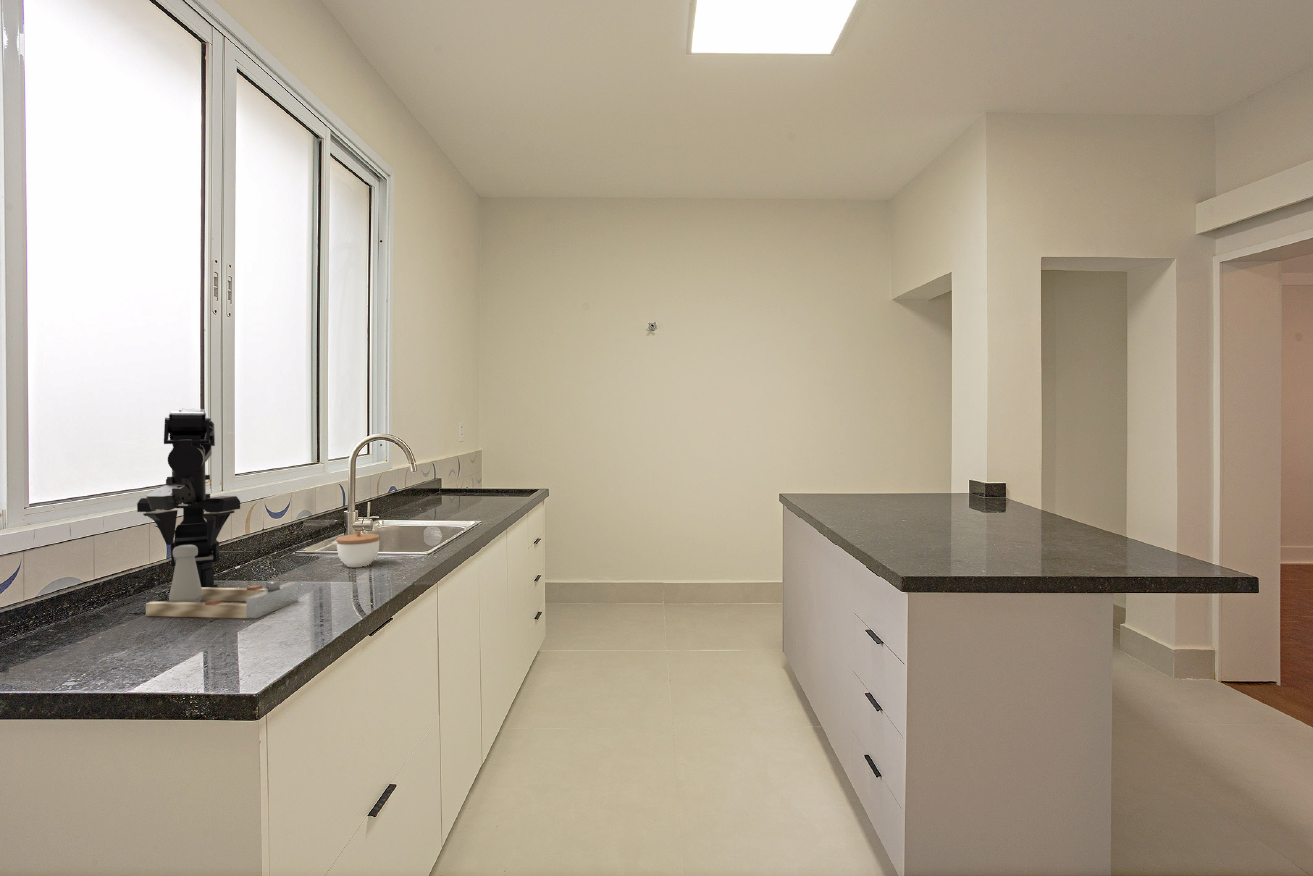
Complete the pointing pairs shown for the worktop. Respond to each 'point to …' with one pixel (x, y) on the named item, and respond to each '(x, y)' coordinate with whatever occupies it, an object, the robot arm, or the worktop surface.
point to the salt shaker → (185, 576)
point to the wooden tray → (255, 606)
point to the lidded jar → (358, 549)
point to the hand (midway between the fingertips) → (190, 544)
